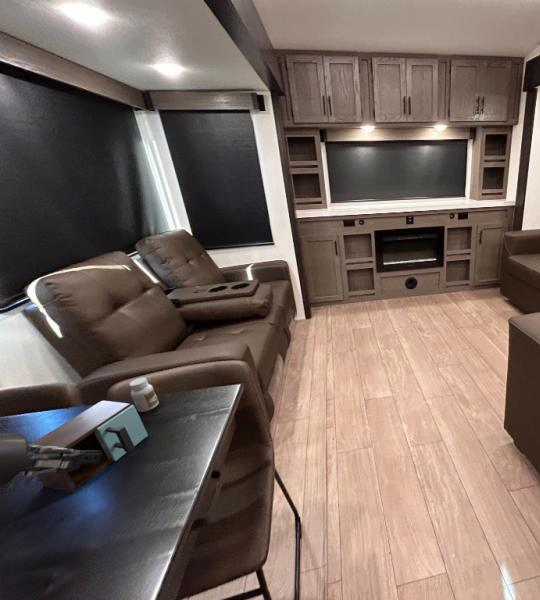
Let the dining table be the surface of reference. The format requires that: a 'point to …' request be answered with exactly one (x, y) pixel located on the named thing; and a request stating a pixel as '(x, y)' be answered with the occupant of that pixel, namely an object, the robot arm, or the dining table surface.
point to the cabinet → (80, 444)
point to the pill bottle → (143, 395)
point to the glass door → (122, 432)
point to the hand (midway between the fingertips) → (97, 456)
